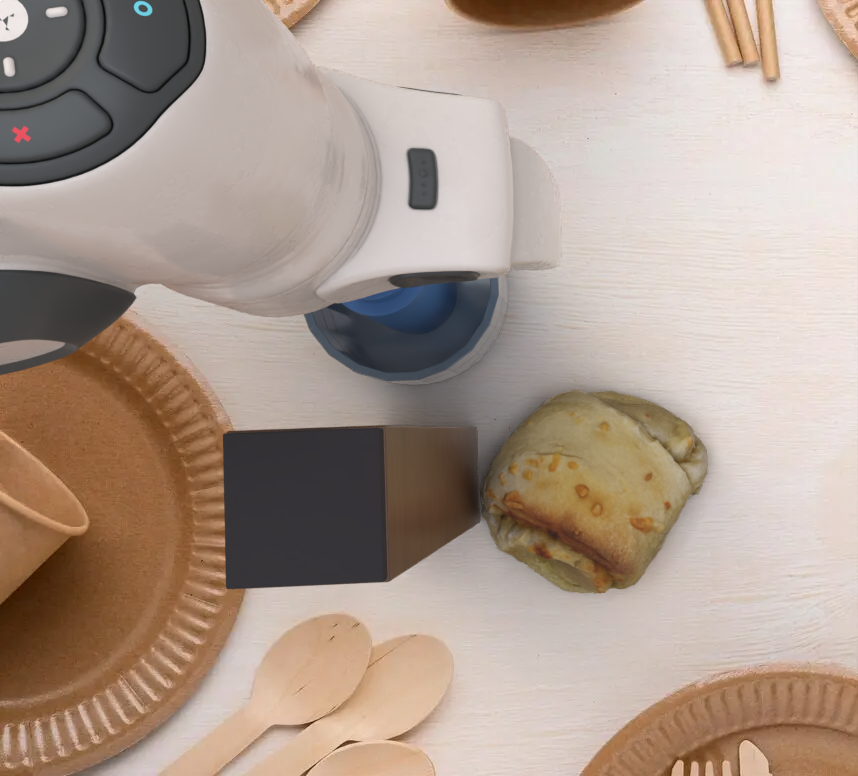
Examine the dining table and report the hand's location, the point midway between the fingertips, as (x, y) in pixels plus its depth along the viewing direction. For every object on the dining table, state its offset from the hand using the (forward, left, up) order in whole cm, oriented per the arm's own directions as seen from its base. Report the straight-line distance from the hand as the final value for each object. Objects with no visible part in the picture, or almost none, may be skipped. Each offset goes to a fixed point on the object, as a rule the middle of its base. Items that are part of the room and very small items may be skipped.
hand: (361, 254), depth 51 cm
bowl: (0, 0, -15) cm, 15 cm away
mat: (0, -12, +11) cm, 16 cm away
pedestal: (0, -12, -15) cm, 19 cm away
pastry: (+11, -13, -15) cm, 22 cm away
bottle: (0, 0, -14) cm, 14 cm away
